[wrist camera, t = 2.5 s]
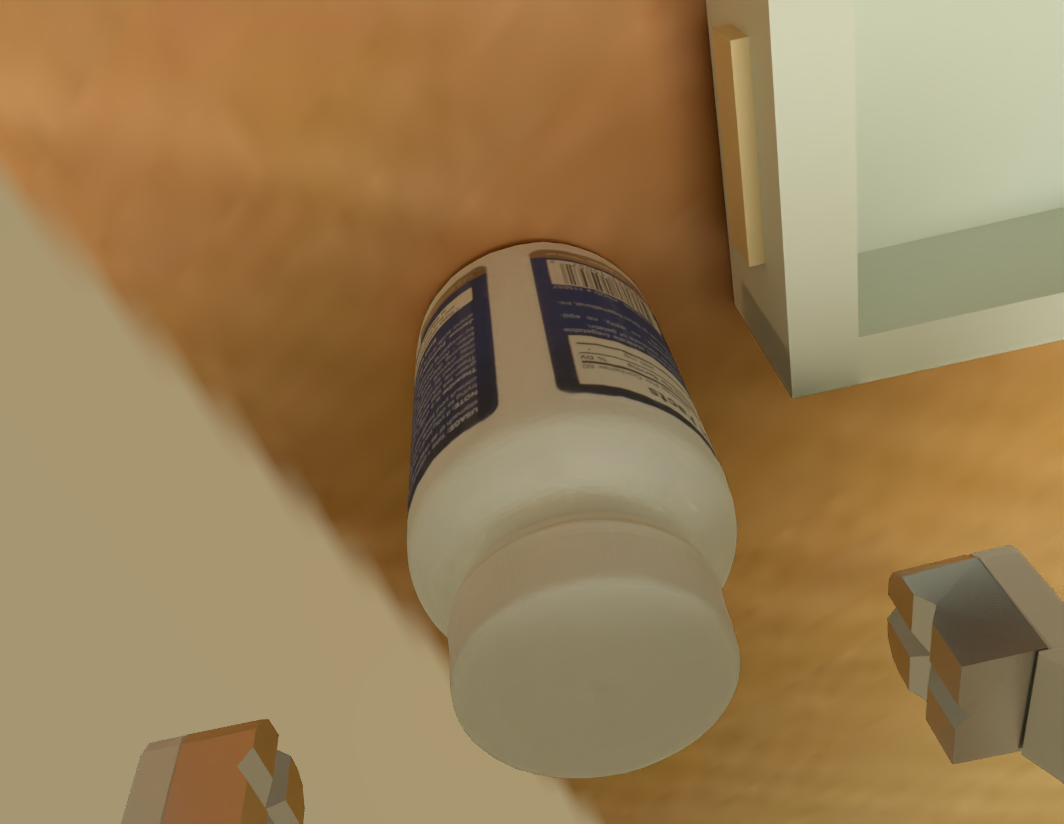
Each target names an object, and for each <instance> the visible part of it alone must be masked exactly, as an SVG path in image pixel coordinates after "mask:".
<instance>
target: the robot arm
mask: <svg viewBox="0 0 1064 824" xmlns="http://www.w3.org/2000/svg"><path fill="white" fill-rule="evenodd" d="M888 595H889V596H890V598H891V600H892V601H893V603H894V605H895V606H896V609H895V610H894V611H893V612H892V614H891V615H890V616H889V617H888V619H887V622H888V640H889V644H890V648H891V652H892V657H893V659H894V662H895V664H896V666H897V669H898V671H899V673H900V675H901V677H902V679H903V681H904V682H905V684H906V686H907V688H908V689H909V691H911V692H913V693H915V694H916V695H918V696H920V697H922V698H923V699H925V700H927V708H926V720H927V722H928V724H929V726H930V727H931V729H932V731H933V732H934V734H935V736H936V737H937V739H938V741H939V742H940V744H941V746H942V747H943V749H944V751H945V753H946V754H947V756H948V758H949V759H950V761H951V763H952V764H957V763H962V762H967V761H972V760H977V759H982V758H987V757H992V756H997V755H1002V754H1007V753H1012V752H1017V751H1022V755H1023V756H1025V757H1026V758H1028V759H1029V760H1031V761H1032V762H1033V763H1035V764H1036V765H1038V766H1039V767H1041V768H1042V769H1044V770H1045V771H1046V772H1048V773H1049V774H1051V775H1052V776H1054V777H1055V778H1057V779H1058V780H1060V781H1061V782H1062V783H1064V602H1063V601H1062V599H1061V598H1060V597H1059V596H1058V595H1057V594H1056V592H1055V591H1054V590H1053V589H1052V588H1051V587H1050V586H1049V584H1048V583H1047V582H1046V581H1045V580H1044V579H1043V577H1042V576H1041V575H1040V574H1039V573H1038V572H1037V570H1036V569H1035V568H1034V567H1033V566H1032V565H1031V563H1030V562H1029V561H1028V560H1027V559H1026V558H1025V556H1024V555H1023V554H1022V553H1021V552H1020V551H1019V549H1017V548H1015V547H1013V546H1011V545H1007V546H1003V547H998V548H994V549H990V550H986V551H981V552H977V553H973V554H970V555H962V556H958V557H954V558H950V559H946V560H942V561H938V562H934V563H929V564H925V565H921V566H917V567H913V568H909V569H905V570H901V571H897V572H893V573H892V575H891V577H890V579H889V586H888ZM278 736H279V735H278V733H277V732H276V730H275V728H274V727H273V725H272V724H271V722H270V721H269V720H268V719H265V720H257V721H252V722H248V723H242V724H237V725H233V726H228V727H223V728H218V729H213V730H208V731H204V732H198V733H193V734H189V735H186V736H181V737H176V738H172V739H167V740H162V741H158V742H153V743H150V744H149V745H148V746H147V748H146V749H145V750H144V752H143V753H142V755H141V756H140V760H139V763H138V767H137V771H136V774H135V778H134V781H133V785H132V788H131V791H130V795H129V798H128V801H127V805H126V809H125V812H124V816H123V819H122V823H121V824H303V819H304V797H303V786H302V782H301V779H300V775H299V772H298V769H297V767H296V765H295V763H294V761H293V759H292V758H291V756H289V755H287V754H285V753H283V752H280V751H278V750H277V743H278Z"/></svg>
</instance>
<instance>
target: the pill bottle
mask: <svg viewBox="0 0 1064 824" xmlns="http://www.w3.org/2000/svg"><path fill="white" fill-rule="evenodd" d="M406 538H407V555H408V565H409V570H410V575H411V579H412V583H413V586H414V588H415V591H416V594H417V596H418V598H419V600H420V602H421V605H422V606H423V608H424V610H425V611H426V613H427V614H428V616H429V617H430V619H431V620H432V622H433V623H434V624H435V625H436V627H437V628H438V629H439V630H440V631H441V632H442V633H443V634H444V635H445V636H446V637H447V638H448V646H449V658H450V687H451V696H452V701H453V706H454V709H455V712H456V715H457V717H458V719H459V722H460V724H461V725H462V727H463V729H464V731H465V732H466V733H467V734H468V736H469V737H470V738H471V739H472V741H473V742H475V743H476V744H477V745H478V746H480V747H481V748H482V749H483V750H484V751H486V752H487V753H489V754H490V755H491V756H493V757H494V758H496V759H498V760H500V761H502V762H504V763H506V764H508V765H510V766H512V767H514V768H516V769H519V770H523V771H527V772H531V773H533V774H538V775H543V776H548V777H554V778H570V779H571V778H596V777H605V776H613V775H619V774H625V773H628V772H632V771H636V770H639V769H641V768H644V767H647V766H650V765H652V764H654V763H657V762H659V761H661V760H663V759H665V758H667V757H669V756H671V755H673V754H676V753H677V752H679V751H681V750H683V749H684V748H686V747H688V746H689V745H690V744H691V743H693V742H694V741H696V740H697V739H698V738H699V737H701V736H702V735H703V734H704V733H705V732H706V731H707V730H708V729H710V728H711V727H712V726H713V725H714V724H715V723H716V722H717V720H718V719H719V718H720V716H721V715H722V714H723V713H724V711H725V710H726V708H727V706H728V705H729V703H730V701H731V699H732V697H733V695H734V693H735V690H736V687H737V684H738V680H739V675H740V665H741V664H740V651H739V646H738V642H737V638H736V635H735V631H734V628H733V625H732V622H731V619H730V616H729V613H728V610H727V607H726V604H725V601H724V596H723V592H722V589H723V587H724V585H725V583H726V580H727V578H728V575H729V573H730V571H731V567H732V563H733V560H734V556H735V550H736V541H737V521H736V514H735V507H734V502H733V498H732V495H731V492H730V489H729V486H728V483H727V480H726V477H725V474H724V471H723V469H722V467H721V464H720V463H719V461H718V459H717V456H716V453H715V452H714V450H713V447H712V445H711V442H710V440H709V438H708V435H707V433H706V431H705V429H704V427H703V425H702V422H701V420H700V418H699V416H698V413H697V411H696V409H695V406H694V404H693V402H692V400H691V397H690V394H689V392H688V390H687V388H686V386H685V384H684V381H683V379H682V377H681V375H680V372H679V370H678V368H677V365H676V363H675V361H674V359H673V357H672V354H671V352H670V350H669V348H668V346H667V343H666V341H665V339H664V337H663V335H662V332H661V330H660V328H659V326H658V323H657V321H656V319H655V317H654V316H653V314H652V312H651V310H650V307H649V305H648V304H647V302H646V300H645V298H644V297H643V295H642V294H641V292H640V290H639V289H638V288H637V286H636V285H635V284H634V282H633V281H632V280H631V279H630V278H629V277H628V276H627V275H626V274H625V273H623V272H622V271H621V270H620V269H619V268H617V267H616V266H615V265H613V264H612V263H610V262H608V261H607V260H605V259H604V258H602V257H600V256H598V255H597V254H594V253H592V252H589V251H587V250H584V249H581V248H578V247H574V246H570V245H566V244H562V243H550V242H536V243H528V244H521V245H515V246H512V247H509V248H505V249H502V250H498V251H495V252H492V253H489V254H487V255H485V256H483V257H481V258H480V259H478V260H476V261H474V262H472V263H471V264H469V265H467V266H466V267H464V268H463V269H461V270H460V271H459V272H458V273H456V274H455V275H454V276H453V277H452V278H451V279H450V280H449V281H448V282H447V283H446V285H445V286H444V287H443V288H442V289H441V290H440V292H439V293H438V294H437V295H436V297H435V298H434V300H433V301H432V303H431V305H430V306H429V309H428V311H427V313H426V315H425V318H424V320H423V323H422V326H421V331H420V335H419V340H418V346H417V353H416V365H415V385H414V406H413V422H412V442H411V462H410V478H409V496H408V516H407V536H406Z"/></svg>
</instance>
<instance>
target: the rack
mask: <svg viewBox="0 0 1064 824" xmlns="http://www.w3.org/2000/svg"><path fill="white" fill-rule="evenodd" d="M706 9H707V19H708V30H709V40H710V51H711V61H712V72H713V82H714V93H715V103H716V114H717V124H718V134H719V145H720V155H721V166H722V176H723V187H724V197H725V208H726V218H727V229H728V239H729V250H730V260H731V271H732V281H733V292H734V302H735V306H736V308H737V309H738V311H739V313H740V314H741V316H742V318H743V319H744V321H745V322H746V324H747V326H748V327H749V329H750V331H751V332H752V334H753V335H754V337H755V339H756V340H757V342H758V344H759V345H760V347H761V348H762V350H763V352H764V353H765V355H766V357H767V358H768V360H769V361H770V363H771V365H772V366H773V368H774V370H775V371H776V373H777V374H778V376H779V378H780V379H781V381H782V383H783V384H784V386H785V387H786V389H787V391H788V392H789V394H790V396H791V397H792V399H793V398H798V397H802V396H807V395H812V394H816V393H821V392H825V391H830V390H835V389H839V388H844V387H848V386H853V385H857V384H862V383H867V382H871V381H876V380H880V379H885V378H890V377H894V376H899V375H903V374H908V373H913V372H917V371H922V370H926V369H931V368H935V367H940V366H945V365H949V364H954V363H958V362H963V361H968V360H972V359H977V358H981V357H986V356H991V355H995V354H1000V353H1004V352H1009V351H1013V350H1018V349H1023V348H1027V347H1032V346H1036V345H1041V344H1046V343H1050V342H1055V341H1059V340H1064V0H706Z"/></svg>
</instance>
